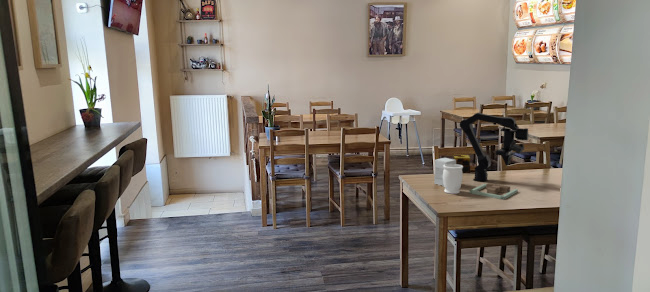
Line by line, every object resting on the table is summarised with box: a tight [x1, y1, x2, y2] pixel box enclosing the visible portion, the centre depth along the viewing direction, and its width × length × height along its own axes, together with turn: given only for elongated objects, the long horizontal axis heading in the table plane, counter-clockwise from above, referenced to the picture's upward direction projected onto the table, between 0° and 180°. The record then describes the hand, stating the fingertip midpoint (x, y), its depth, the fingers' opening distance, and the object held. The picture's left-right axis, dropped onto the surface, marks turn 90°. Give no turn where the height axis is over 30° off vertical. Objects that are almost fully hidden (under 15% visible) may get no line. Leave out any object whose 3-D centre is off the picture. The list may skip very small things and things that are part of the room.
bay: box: [469, 183, 519, 201], centre depth 263 cm, size 19×19×2 cm
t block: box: [485, 182, 511, 195], centre depth 264 cm, size 12×12×3 cm
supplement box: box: [433, 157, 456, 187], centre depth 280 cm, size 9×9×15 cm
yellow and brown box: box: [453, 154, 471, 174], centre depth 313 cm, size 10×10×10 cm
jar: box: [443, 164, 464, 195], centre depth 264 cm, size 11×10×15 cm
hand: (507, 165), depth 280 cm, fingers closed
